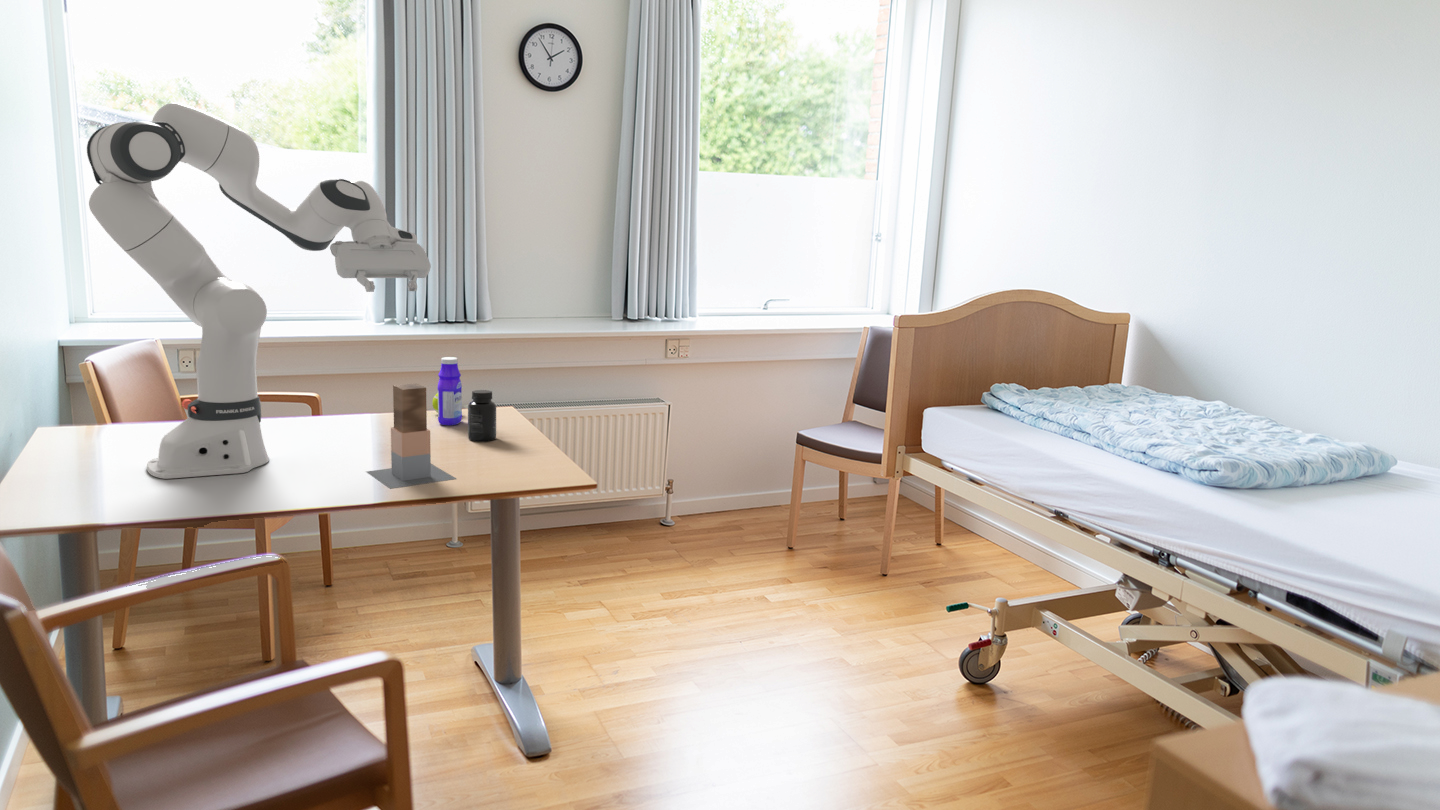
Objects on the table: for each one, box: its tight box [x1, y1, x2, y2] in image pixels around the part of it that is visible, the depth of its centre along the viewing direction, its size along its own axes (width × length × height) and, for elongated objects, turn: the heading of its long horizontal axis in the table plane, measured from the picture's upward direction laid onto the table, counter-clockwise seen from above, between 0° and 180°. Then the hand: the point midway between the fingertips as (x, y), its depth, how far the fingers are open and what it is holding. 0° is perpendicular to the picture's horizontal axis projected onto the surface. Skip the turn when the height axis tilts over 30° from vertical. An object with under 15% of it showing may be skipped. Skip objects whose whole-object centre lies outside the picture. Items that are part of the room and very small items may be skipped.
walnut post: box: [392, 383, 428, 433], centre depth 189 cm, size 5×5×9 cm
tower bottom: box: [390, 450, 432, 481], centre depth 192 cm, size 6×6×5 cm
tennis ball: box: [432, 392, 438, 414], centre depth 250 cm, size 7×7×7 cm
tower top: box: [390, 426, 431, 457], centre depth 191 cm, size 6×6×5 cm
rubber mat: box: [366, 463, 457, 490], centre depth 192 cm, size 14×14×1 cm
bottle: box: [437, 356, 463, 426], centre depth 239 cm, size 7×6×17 cm
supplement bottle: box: [467, 389, 497, 443], centre depth 225 cm, size 7×7×12 cm
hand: (392, 289), depth 202 cm, fingers open, 8 cm apart
